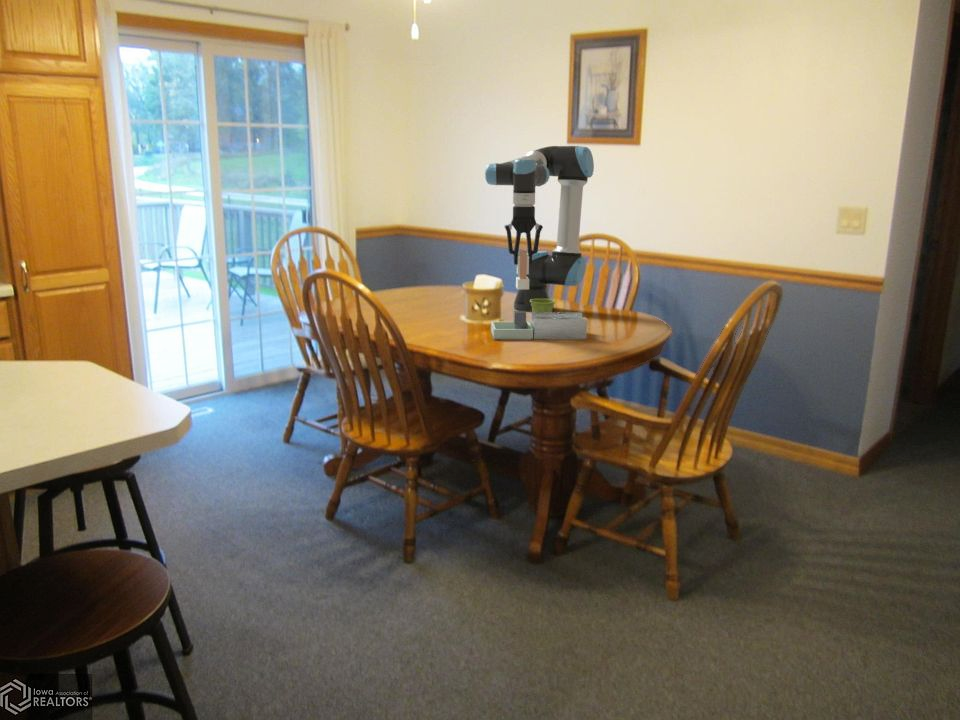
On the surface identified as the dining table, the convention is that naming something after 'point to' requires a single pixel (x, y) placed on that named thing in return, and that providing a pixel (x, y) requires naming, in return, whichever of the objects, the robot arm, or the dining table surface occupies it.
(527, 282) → the scraper
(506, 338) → the tray
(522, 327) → the chip
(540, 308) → the plant pot
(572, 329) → the slot block
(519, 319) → the grey cube
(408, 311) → the dining table surface
